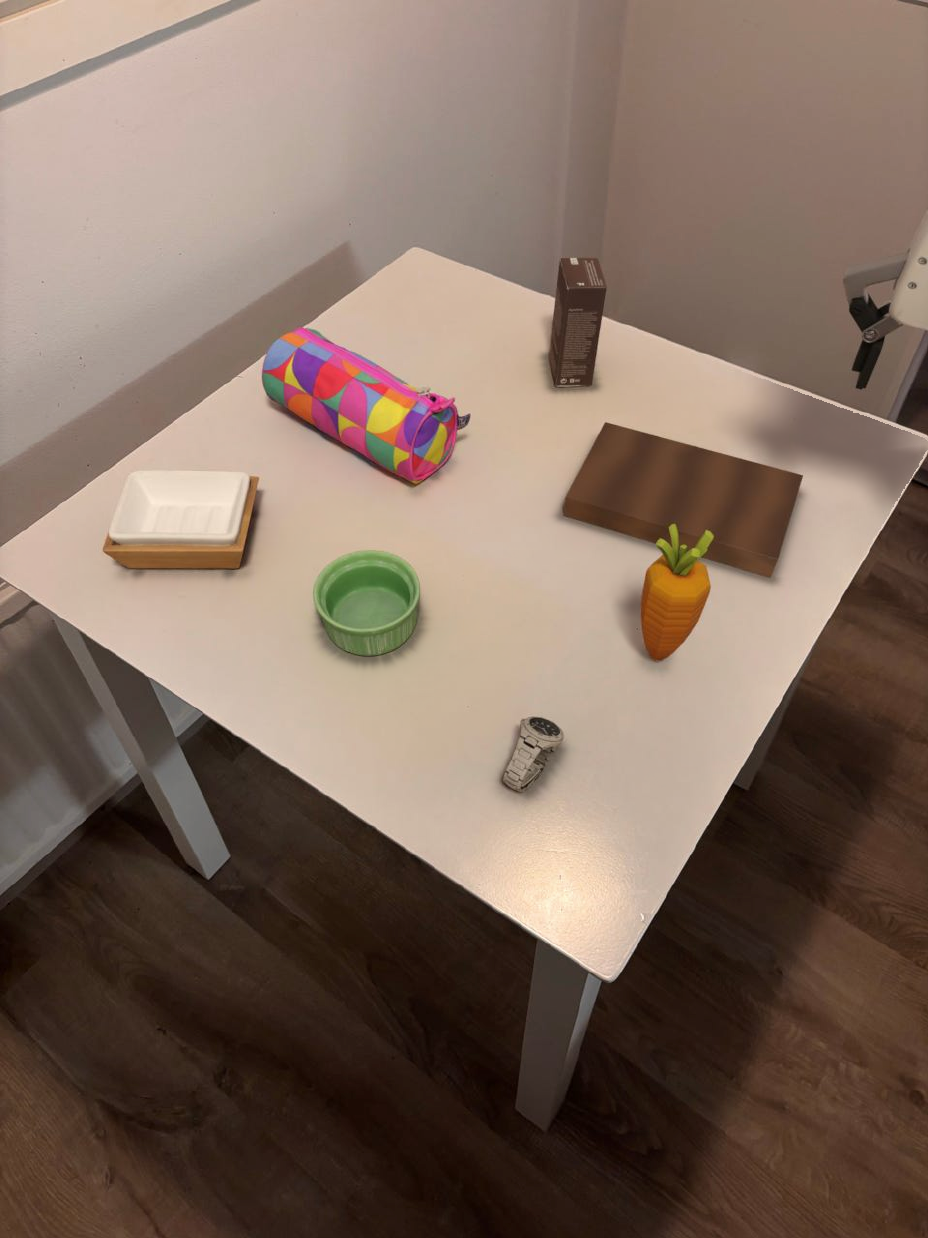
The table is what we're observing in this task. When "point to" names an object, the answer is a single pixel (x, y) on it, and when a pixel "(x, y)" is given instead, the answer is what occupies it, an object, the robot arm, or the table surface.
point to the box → (576, 321)
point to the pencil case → (362, 404)
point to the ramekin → (368, 601)
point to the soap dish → (182, 519)
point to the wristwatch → (532, 752)
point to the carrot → (673, 595)
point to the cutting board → (685, 497)
